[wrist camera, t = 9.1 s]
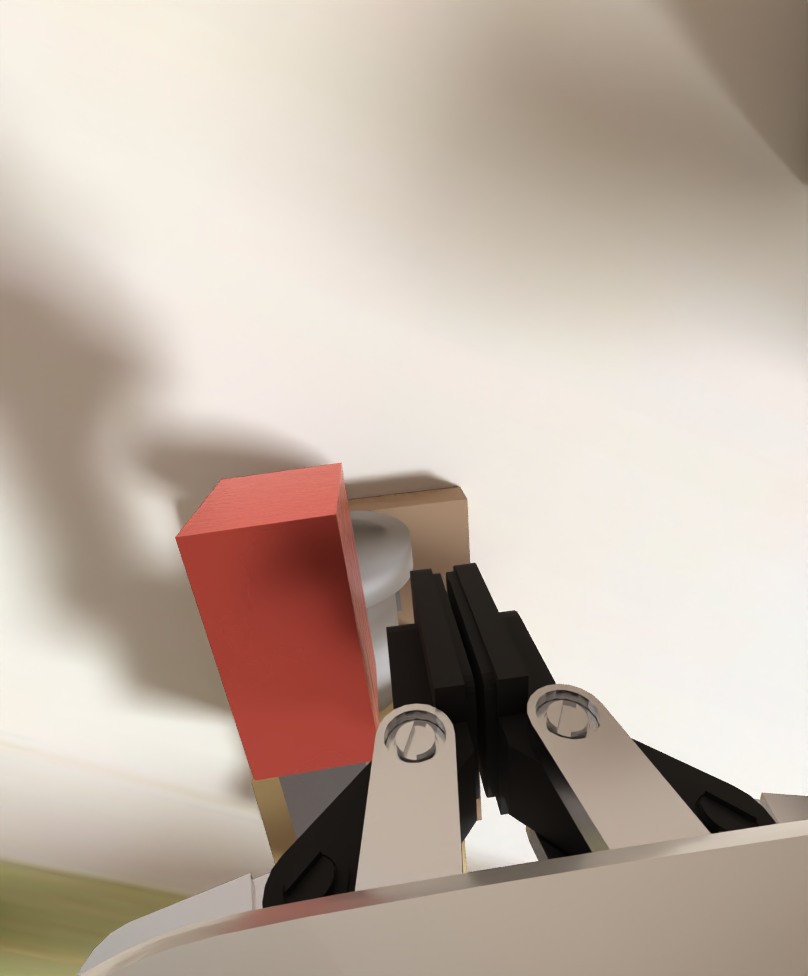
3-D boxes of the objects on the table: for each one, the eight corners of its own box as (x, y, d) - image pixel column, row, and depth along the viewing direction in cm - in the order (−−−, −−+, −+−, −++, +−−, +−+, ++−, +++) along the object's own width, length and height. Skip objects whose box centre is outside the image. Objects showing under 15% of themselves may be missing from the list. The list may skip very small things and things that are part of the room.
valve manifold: (475, 795, 29) (524, 996, 20) (292, 823, 28) (264, 1043, 20) (459, 486, 21) (526, 600, 13) (213, 515, 21) (116, 655, 12)
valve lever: (426, 889, 17) (439, 1004, 14) (326, 908, 17) (320, 1027, 14) (358, 460, 11) (358, 511, 8) (204, 481, 11) (151, 541, 8)
